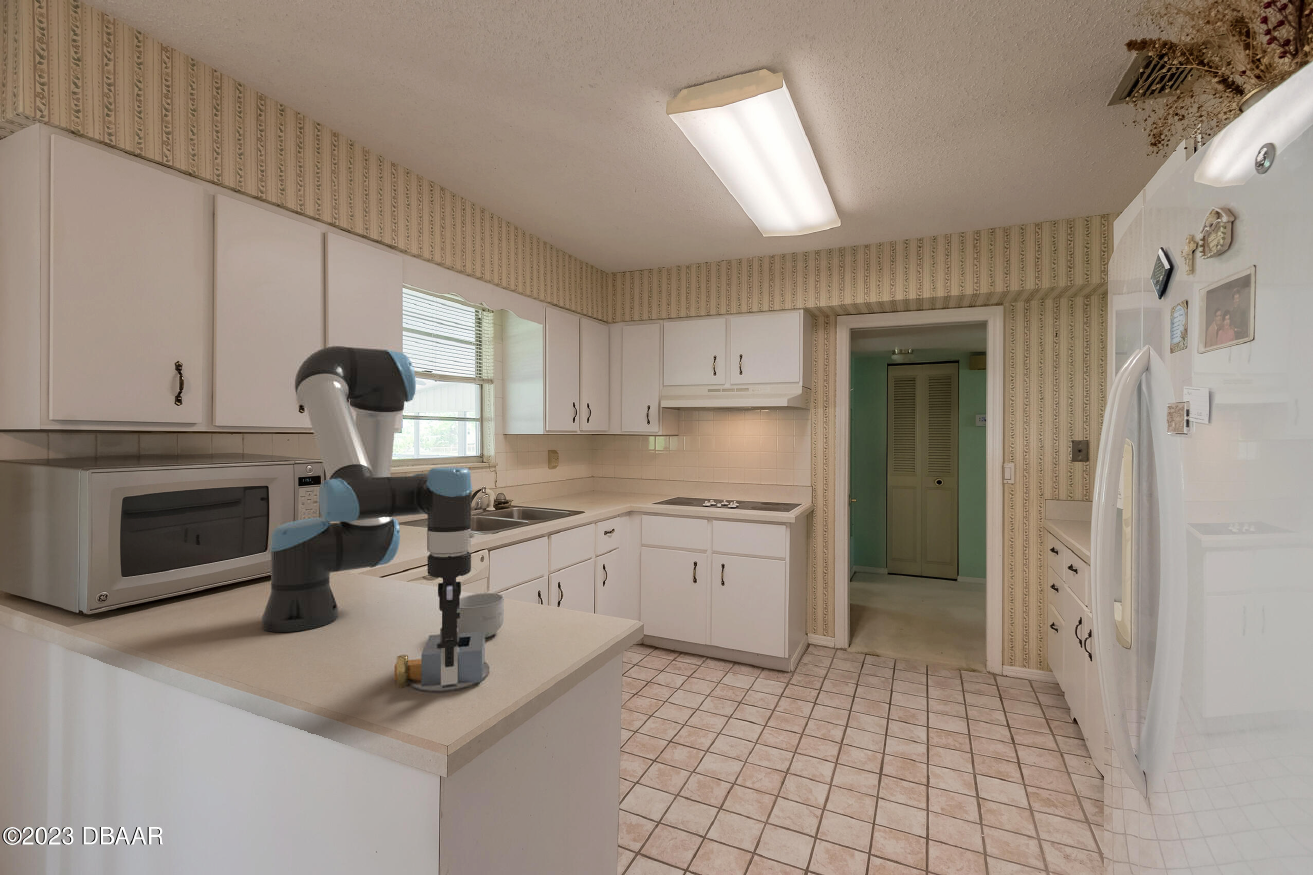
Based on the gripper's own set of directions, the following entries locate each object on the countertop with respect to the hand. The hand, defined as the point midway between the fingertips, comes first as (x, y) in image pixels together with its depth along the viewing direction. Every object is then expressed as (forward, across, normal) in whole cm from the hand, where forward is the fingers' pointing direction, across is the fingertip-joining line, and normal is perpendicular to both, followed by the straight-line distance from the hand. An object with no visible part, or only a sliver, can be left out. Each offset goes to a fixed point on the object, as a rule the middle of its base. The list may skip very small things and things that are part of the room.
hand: (449, 668), depth 108 cm
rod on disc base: (+1, 0, 0) cm, 1 cm away
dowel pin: (+1, -2, +8) cm, 8 cm away
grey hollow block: (+1, 0, +1) cm, 2 cm away
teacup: (+2, +22, -7) cm, 23 cm away
